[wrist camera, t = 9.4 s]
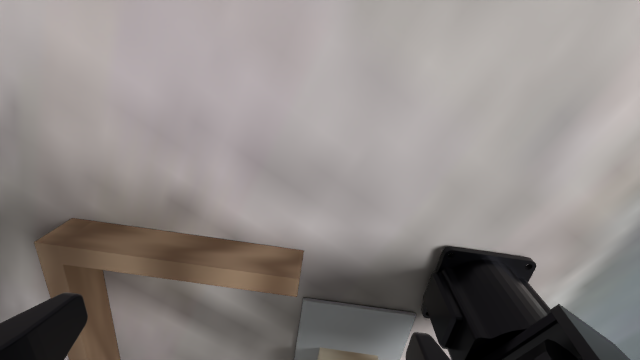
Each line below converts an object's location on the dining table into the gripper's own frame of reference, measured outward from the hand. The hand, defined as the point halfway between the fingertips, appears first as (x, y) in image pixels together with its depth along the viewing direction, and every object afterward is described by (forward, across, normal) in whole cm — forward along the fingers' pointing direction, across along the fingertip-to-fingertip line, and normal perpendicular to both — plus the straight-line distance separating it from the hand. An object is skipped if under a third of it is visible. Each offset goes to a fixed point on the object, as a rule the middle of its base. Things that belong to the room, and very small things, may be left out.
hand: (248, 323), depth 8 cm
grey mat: (+12, -6, +19) cm, 23 cm away
